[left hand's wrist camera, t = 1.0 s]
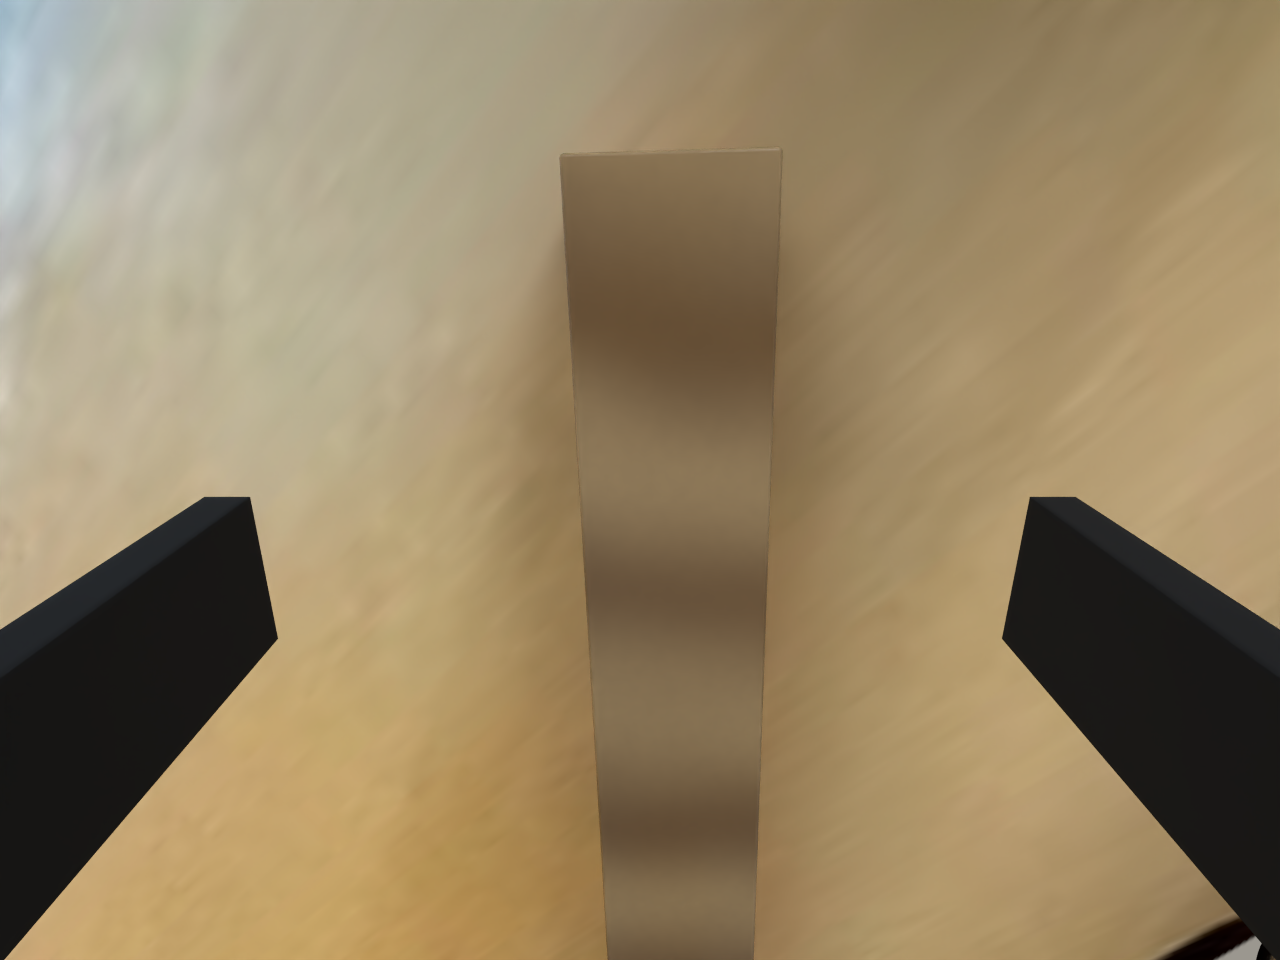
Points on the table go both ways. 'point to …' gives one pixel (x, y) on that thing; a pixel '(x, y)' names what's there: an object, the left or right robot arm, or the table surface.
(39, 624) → the left robot arm
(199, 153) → the table surface
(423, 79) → the table surface
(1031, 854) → the table surface
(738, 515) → the bar
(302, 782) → the table surface
